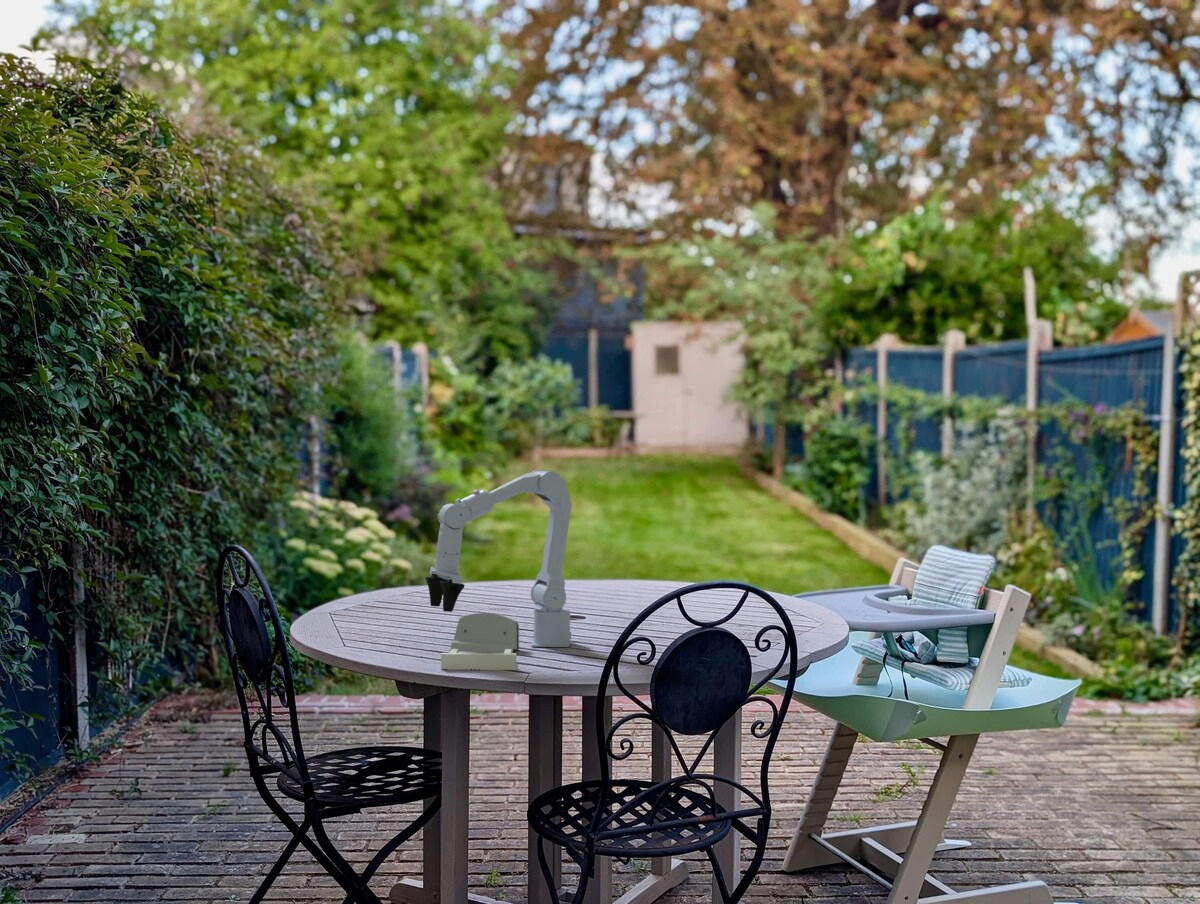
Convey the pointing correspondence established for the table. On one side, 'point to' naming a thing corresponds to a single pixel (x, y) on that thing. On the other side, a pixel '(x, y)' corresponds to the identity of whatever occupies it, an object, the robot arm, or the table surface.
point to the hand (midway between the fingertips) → (441, 608)
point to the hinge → (486, 633)
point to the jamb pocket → (478, 660)
